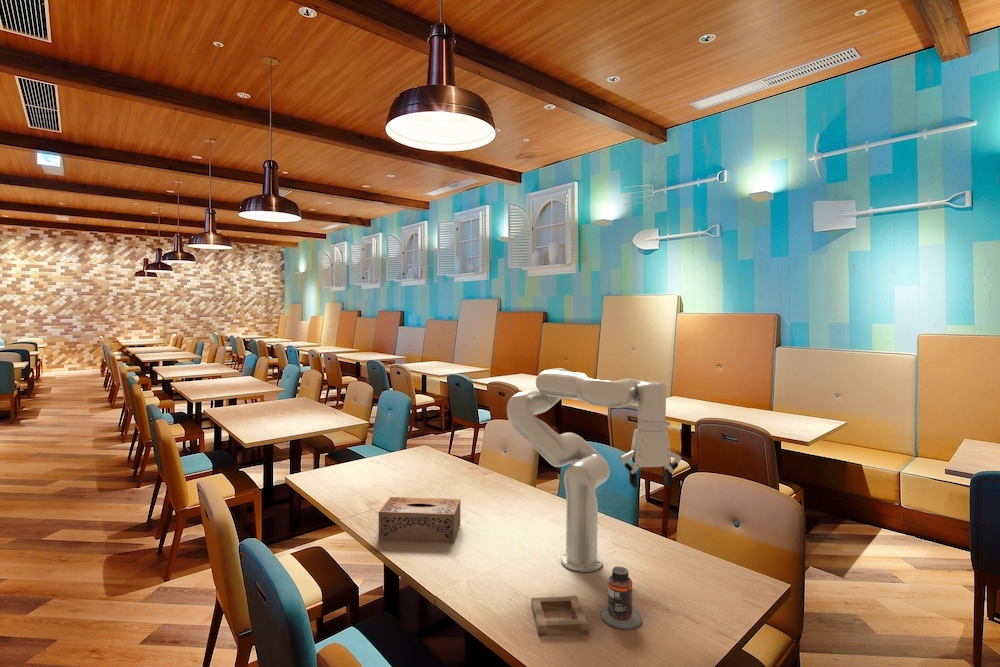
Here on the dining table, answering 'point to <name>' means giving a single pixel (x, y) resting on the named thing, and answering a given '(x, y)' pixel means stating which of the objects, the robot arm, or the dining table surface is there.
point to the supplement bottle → (620, 594)
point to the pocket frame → (559, 626)
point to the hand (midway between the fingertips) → (650, 485)
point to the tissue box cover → (419, 520)
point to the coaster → (621, 624)
